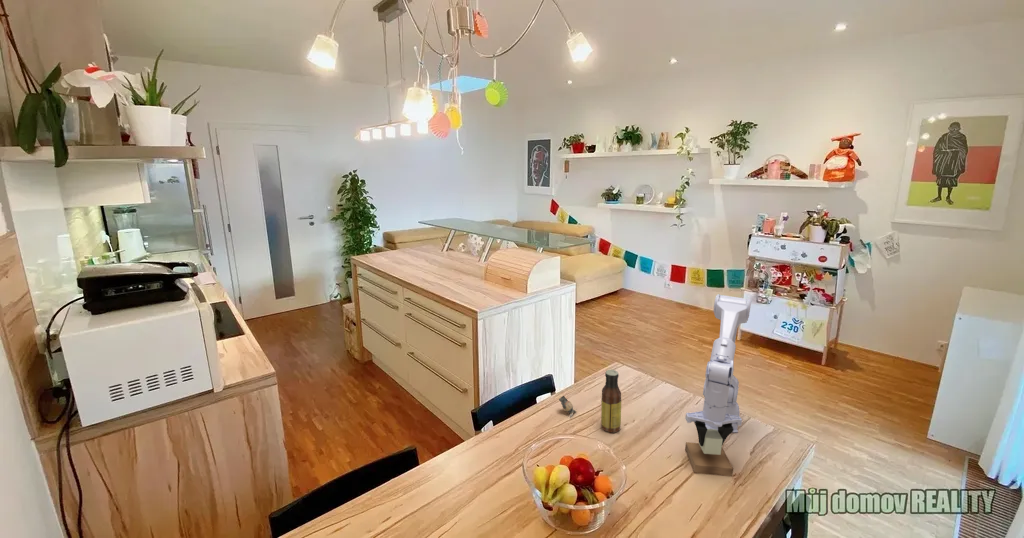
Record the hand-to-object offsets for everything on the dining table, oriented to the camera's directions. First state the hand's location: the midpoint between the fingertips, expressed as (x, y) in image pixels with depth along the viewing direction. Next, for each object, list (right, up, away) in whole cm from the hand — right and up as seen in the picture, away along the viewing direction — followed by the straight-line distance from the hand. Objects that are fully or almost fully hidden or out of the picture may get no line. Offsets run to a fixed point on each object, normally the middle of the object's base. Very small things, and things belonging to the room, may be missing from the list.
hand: (709, 444), depth 122 cm
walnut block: (0, -6, +2) cm, 6 cm away
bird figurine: (-38, 0, +26) cm, 46 cm away
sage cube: (0, -1, 0) cm, 1 cm away
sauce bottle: (-24, -2, +17) cm, 30 cm away
